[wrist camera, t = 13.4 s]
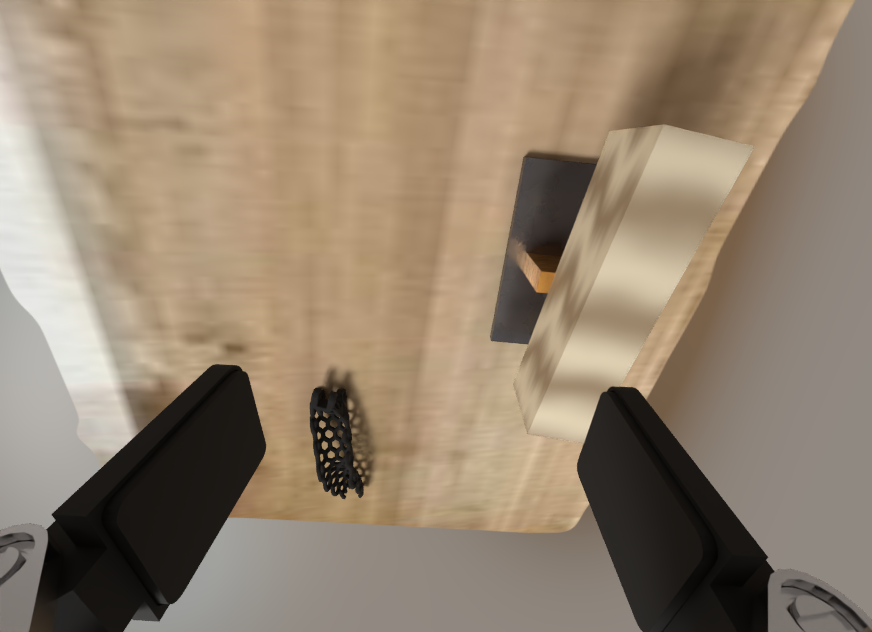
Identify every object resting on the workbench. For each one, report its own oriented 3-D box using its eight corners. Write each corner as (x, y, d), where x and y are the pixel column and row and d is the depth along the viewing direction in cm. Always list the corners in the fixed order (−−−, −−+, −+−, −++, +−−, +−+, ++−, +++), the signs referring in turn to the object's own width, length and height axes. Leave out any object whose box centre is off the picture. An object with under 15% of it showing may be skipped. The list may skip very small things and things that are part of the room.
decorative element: (371, 485, 54) (363, 521, 49) (340, 486, 55) (329, 522, 49) (346, 371, 44) (333, 401, 39) (308, 373, 45) (290, 402, 39)
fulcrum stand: (523, 157, 32) (542, 158, 26) (646, 169, 32) (694, 173, 26) (490, 336, 41) (498, 370, 35) (586, 345, 41) (612, 380, 35)
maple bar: (609, 131, 25) (664, 124, 19) (678, 147, 25) (754, 146, 19) (513, 384, 36) (527, 434, 29) (562, 393, 36) (587, 444, 30)
